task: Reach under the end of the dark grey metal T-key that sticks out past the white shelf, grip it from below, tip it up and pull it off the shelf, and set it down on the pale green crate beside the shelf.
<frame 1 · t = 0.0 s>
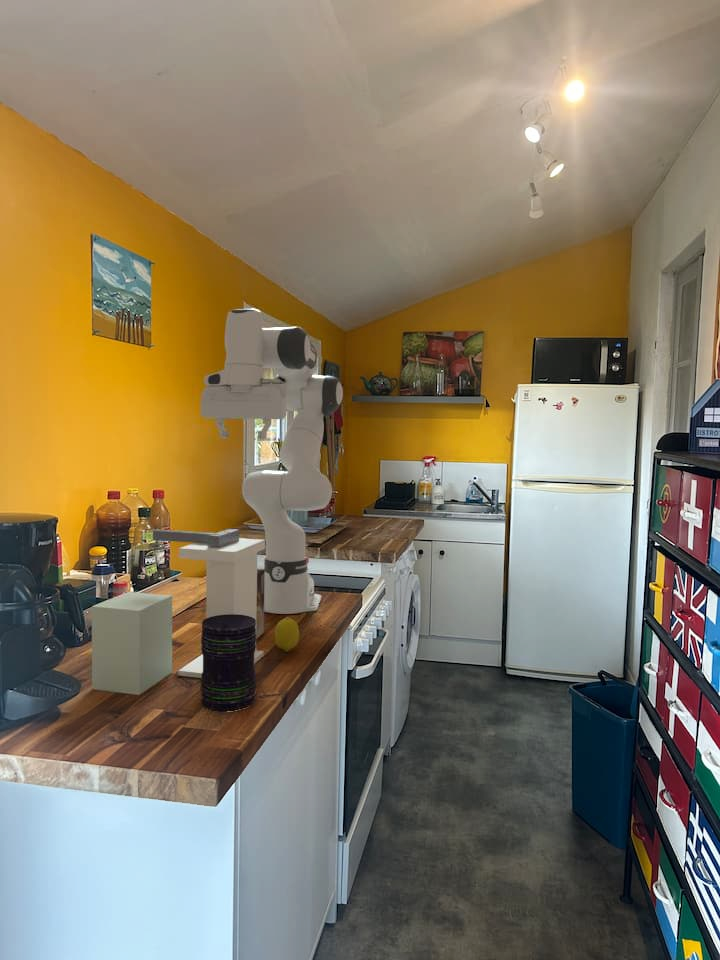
hand: (243, 438, 151), 48 cm above the countertop, tool pointing down, fingers open, 8 cm apart
coffee box: (245, 638, 157), on the countertop
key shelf: (223, 665, 137), on the countertop
storage jar: (228, 702, 119), on the countertop
lemon: (286, 652, 147), on the countertop
t key: (210, 542, 136), point 26 cm above the countertop, touching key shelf
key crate: (133, 680, 128), on the countertop
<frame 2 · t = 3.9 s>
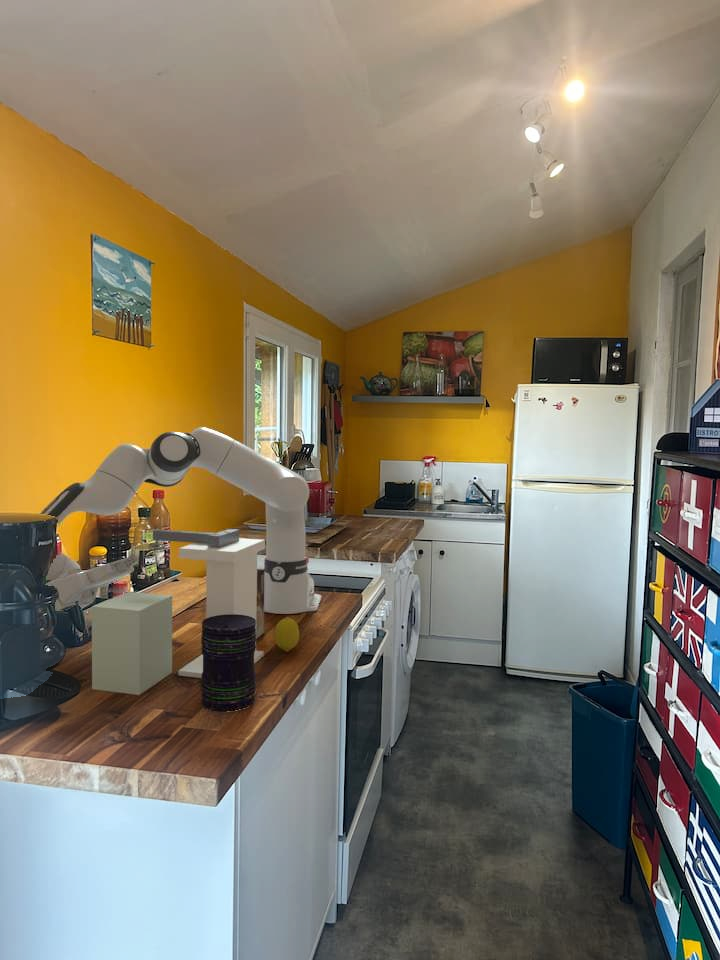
hand: (124, 562, 141), 21 cm above the countertop, tool pointing upward, fingers open, 8 cm apart
nothing on the countertop moved.
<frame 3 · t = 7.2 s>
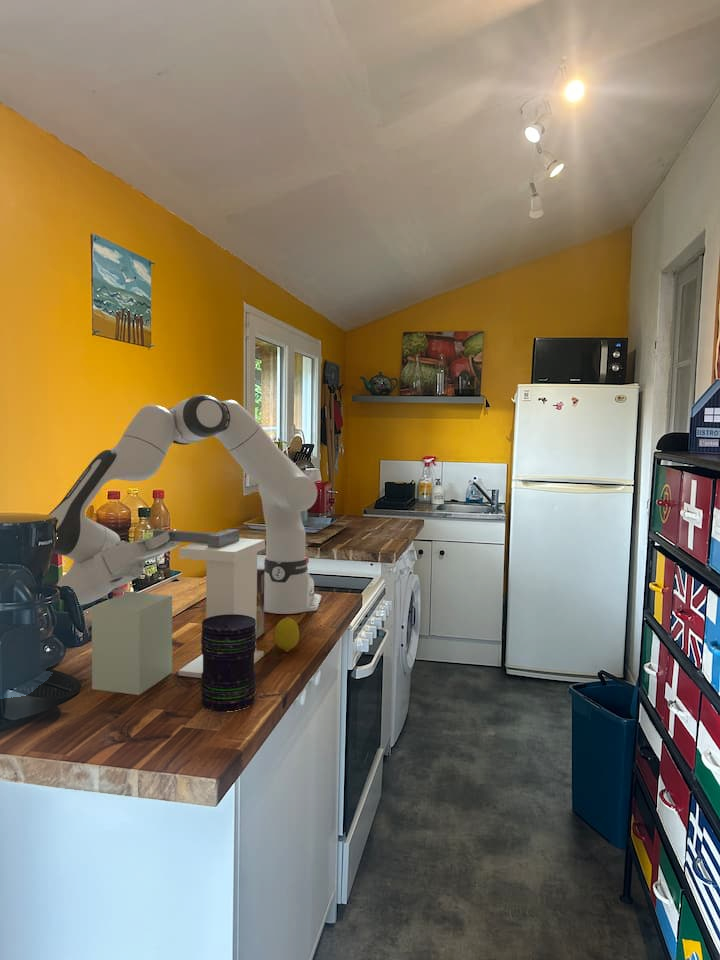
hand: (173, 533, 138), 27 cm above the countertop, tool pointing upward, fingers closed on t key, 2 cm apart
t key: (210, 542, 136), point 26 cm above the countertop, touching gripper, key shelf
everything else where it was.
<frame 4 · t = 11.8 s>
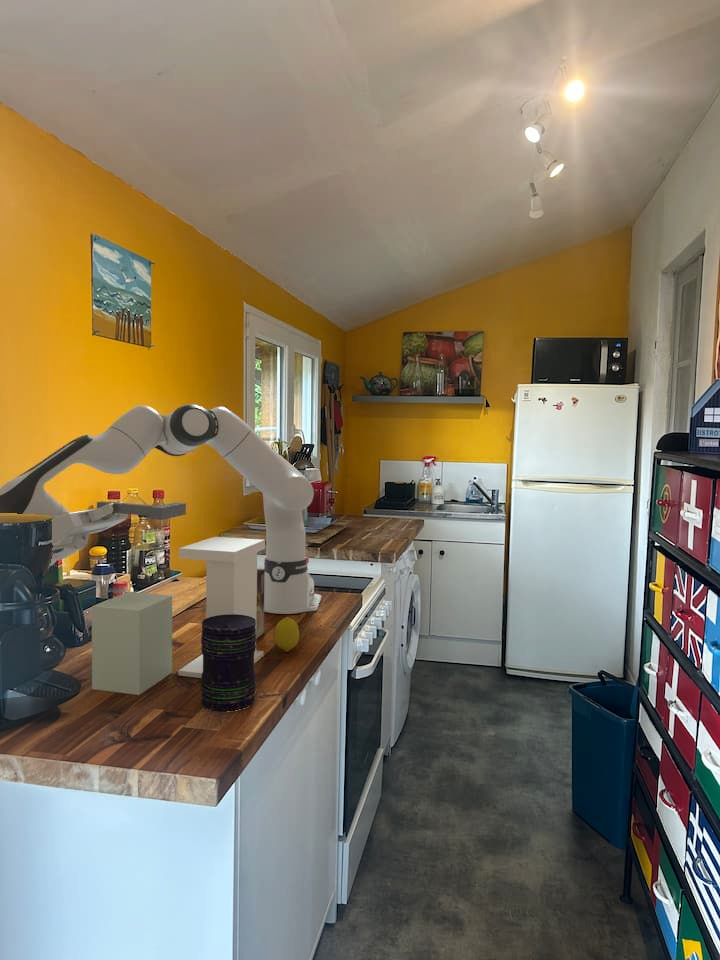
hand: (117, 505, 136), 33 cm above the countertop, tool pointing upward, fingers closed on t key
t key: (155, 515, 134), point 32 cm above the countertop, touching gripper
everything else where it was.
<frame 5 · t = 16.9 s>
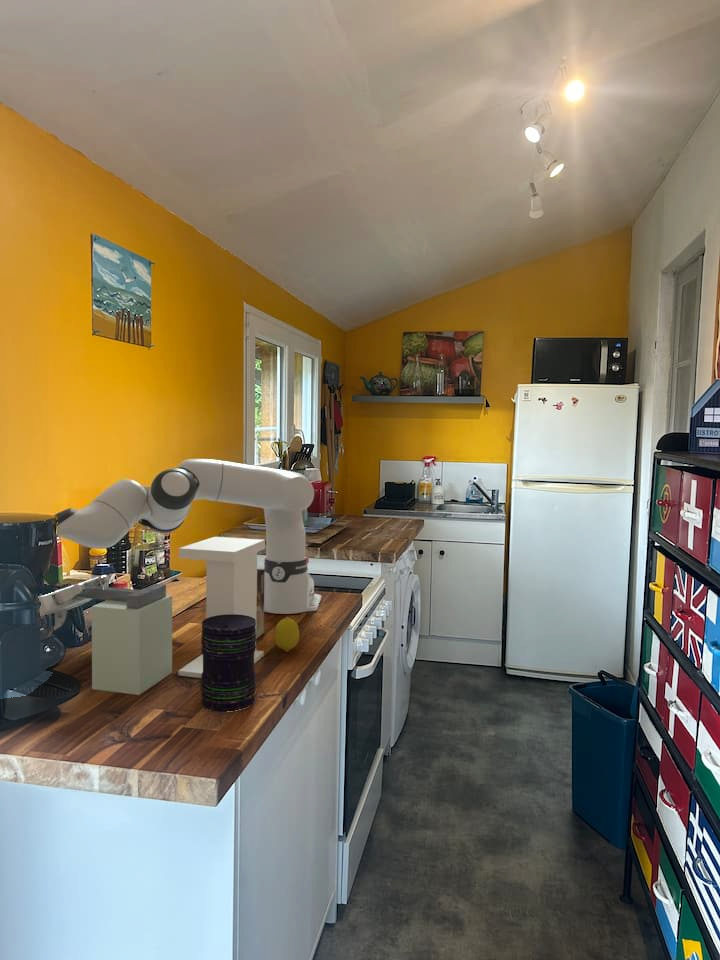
hand: (94, 582, 128), 19 cm above the countertop, tool pointing upward, fingers open, 6 cm apart
t key: (133, 600, 127), point 16 cm above the countertop, touching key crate
everything else where it was.
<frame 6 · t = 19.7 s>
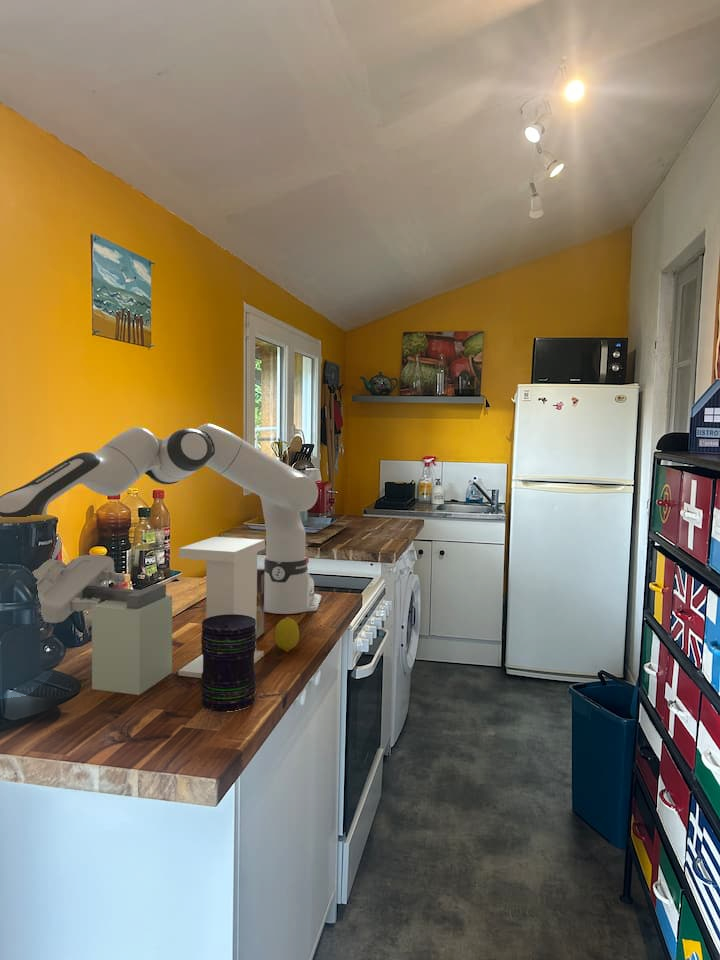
hand: (111, 592, 129), 17 cm above the countertop, tool horizontal, fingers open, 8 cm apart
nothing on the countertop moved.
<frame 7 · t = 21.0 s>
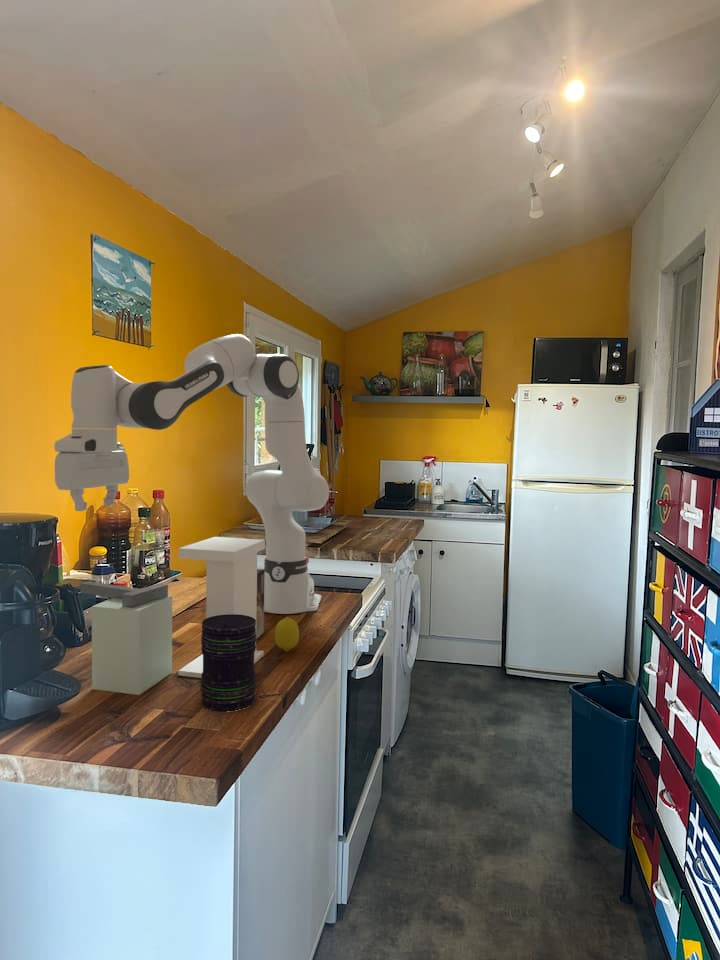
hand: (95, 508, 137), 33 cm above the countertop, tool pointing down, fingers open, 8 cm apart
t key: (133, 599, 128), point 16 cm above the countertop, touching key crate
everything else where it was.
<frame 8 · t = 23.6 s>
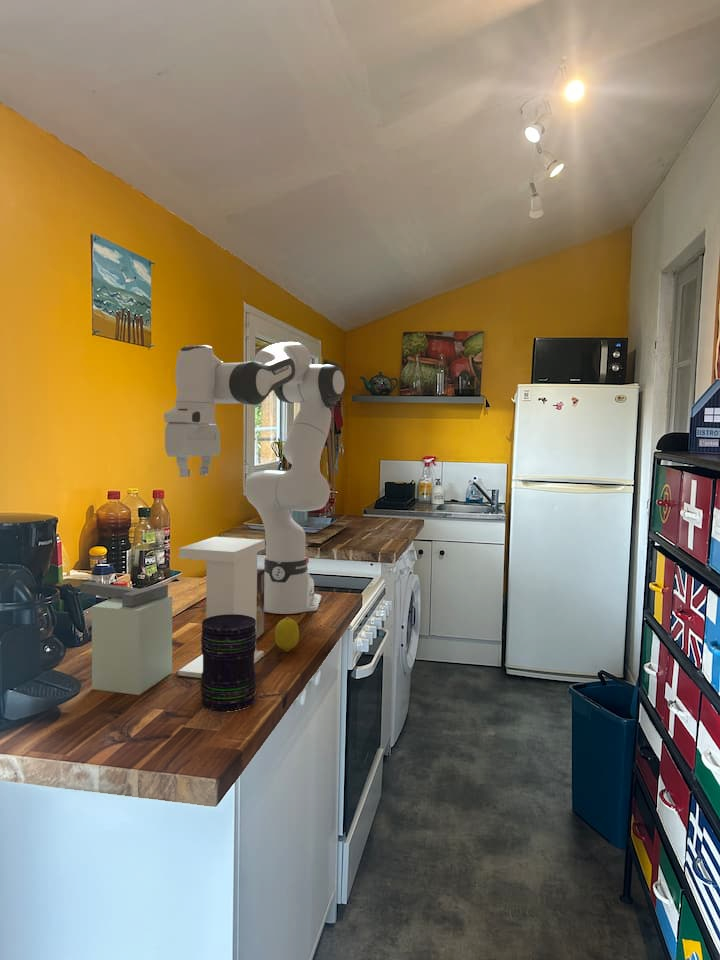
hand: (194, 476, 149), 39 cm above the countertop, tool pointing down, fingers open, 8 cm apart
nothing on the countertop moved.
at the end: t key inside the target area (1.0 cm from its centre), point 16.0 cm above the countertop; t key touching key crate; the gripper is holding nothing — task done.
